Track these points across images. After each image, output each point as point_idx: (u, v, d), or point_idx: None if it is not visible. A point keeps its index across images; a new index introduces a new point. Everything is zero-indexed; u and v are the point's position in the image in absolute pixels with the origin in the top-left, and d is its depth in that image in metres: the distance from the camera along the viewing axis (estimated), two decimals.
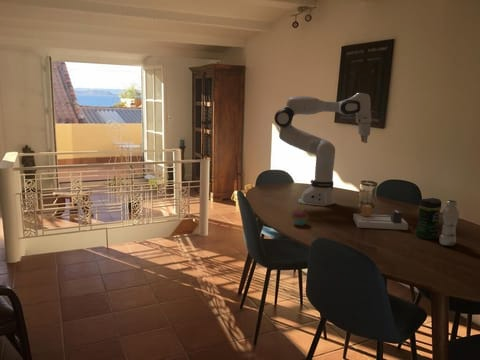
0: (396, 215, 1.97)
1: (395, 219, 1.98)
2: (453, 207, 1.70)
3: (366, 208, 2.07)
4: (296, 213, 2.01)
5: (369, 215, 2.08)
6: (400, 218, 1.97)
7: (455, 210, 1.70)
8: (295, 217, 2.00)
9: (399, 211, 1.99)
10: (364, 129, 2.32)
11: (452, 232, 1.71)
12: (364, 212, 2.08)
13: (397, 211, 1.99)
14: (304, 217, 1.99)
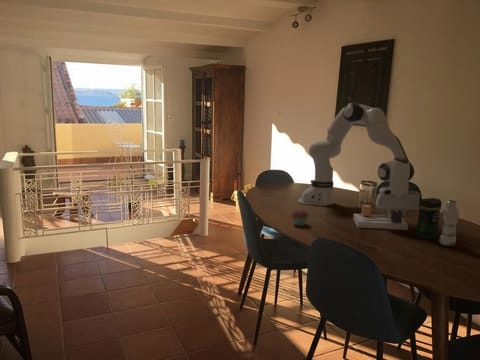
0: (396, 215, 1.97)
1: (395, 219, 1.98)
2: (453, 207, 1.70)
3: (366, 208, 2.07)
4: (296, 213, 2.01)
5: (369, 215, 2.08)
6: (400, 218, 1.97)
7: (455, 210, 1.70)
8: (295, 217, 2.00)
9: (399, 211, 1.99)
10: None
11: (452, 232, 1.71)
12: (364, 212, 2.08)
13: (397, 211, 1.99)
14: (304, 217, 1.99)
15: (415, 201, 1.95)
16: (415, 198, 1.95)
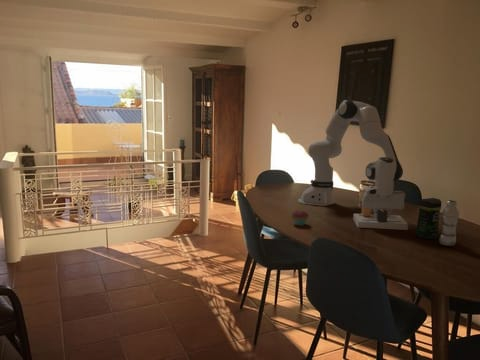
0: (381, 214, 1.98)
1: (380, 218, 1.98)
2: (453, 207, 1.70)
3: (366, 208, 2.07)
4: (296, 213, 2.01)
5: (369, 215, 2.08)
6: (385, 217, 1.98)
7: (455, 210, 1.70)
8: (295, 217, 2.00)
9: (385, 210, 2.00)
10: (362, 199, 2.02)
11: (452, 232, 1.71)
12: (364, 212, 2.08)
13: (383, 210, 2.00)
14: (304, 217, 1.99)
15: (400, 200, 1.96)
16: (400, 197, 1.96)
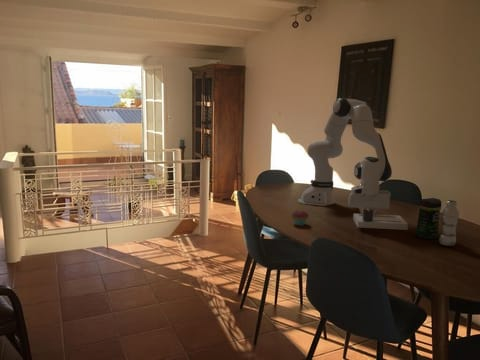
0: (367, 214, 1.99)
1: (366, 218, 1.99)
2: (453, 207, 1.70)
3: (366, 208, 2.07)
4: (296, 213, 2.01)
5: None
6: (371, 217, 1.99)
7: (455, 210, 1.70)
8: (295, 217, 2.00)
9: (370, 210, 2.01)
10: (348, 198, 2.03)
11: (452, 232, 1.71)
12: None
13: (368, 210, 2.01)
14: (304, 217, 1.99)
15: (386, 199, 1.97)
16: (385, 197, 1.97)
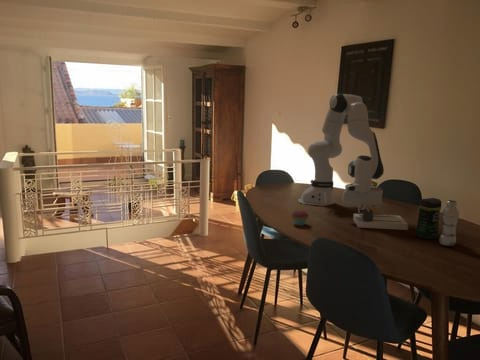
0: (367, 214, 1.99)
1: (366, 218, 1.99)
2: (453, 207, 1.70)
3: (369, 208, 2.07)
4: (296, 213, 2.01)
5: None
6: (371, 217, 1.99)
7: (455, 210, 1.70)
8: (295, 217, 2.00)
9: (370, 210, 2.01)
10: None
11: (452, 232, 1.71)
12: None
13: (368, 210, 2.01)
14: (304, 217, 1.99)
15: (378, 196, 2.06)
16: (378, 193, 2.06)
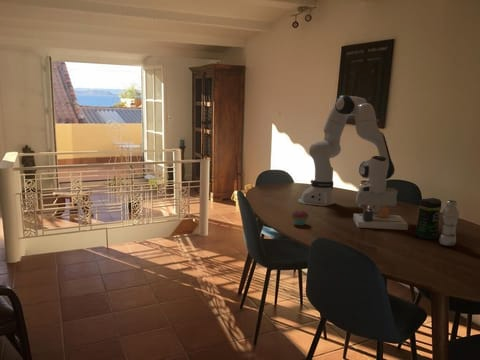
0: (367, 214, 1.99)
1: (366, 218, 1.99)
2: (453, 207, 1.70)
3: (384, 209, 2.06)
4: (296, 213, 2.01)
5: (387, 216, 2.07)
6: (371, 217, 1.99)
7: (455, 210, 1.70)
8: (295, 217, 2.00)
9: (370, 210, 2.01)
10: (356, 196, 2.11)
11: (452, 232, 1.71)
12: (382, 213, 2.07)
13: (368, 210, 2.01)
14: (304, 217, 1.99)
15: (393, 197, 2.05)
16: (392, 194, 2.05)
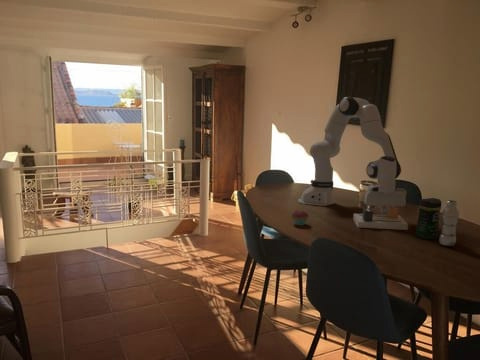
0: (367, 214, 1.99)
1: (366, 218, 1.99)
2: (453, 207, 1.70)
3: (393, 209, 2.06)
4: (296, 213, 2.01)
5: (396, 216, 2.06)
6: (371, 217, 1.99)
7: (455, 210, 1.70)
8: (295, 217, 2.00)
9: (370, 210, 2.01)
10: (365, 196, 2.10)
11: (452, 232, 1.71)
12: (391, 213, 2.06)
13: (368, 210, 2.01)
14: (304, 217, 1.99)
15: (402, 197, 2.05)
16: (401, 194, 2.04)
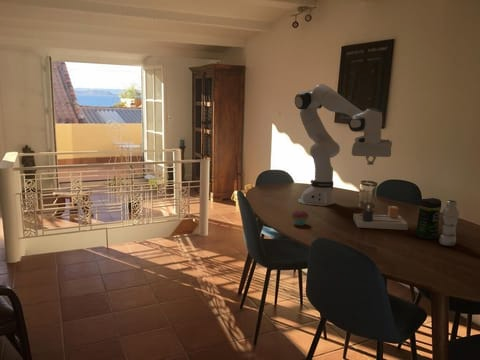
0: (367, 214, 1.99)
1: (366, 218, 1.99)
2: (453, 207, 1.70)
3: (393, 209, 2.06)
4: (296, 213, 2.01)
5: (396, 216, 2.06)
6: (371, 217, 1.99)
7: (455, 210, 1.70)
8: (295, 217, 2.00)
9: (370, 210, 2.01)
10: (352, 148, 2.16)
11: (452, 232, 1.71)
12: (391, 213, 2.06)
13: (368, 210, 2.01)
14: (304, 217, 1.99)
15: (387, 148, 2.11)
16: (387, 145, 2.10)
